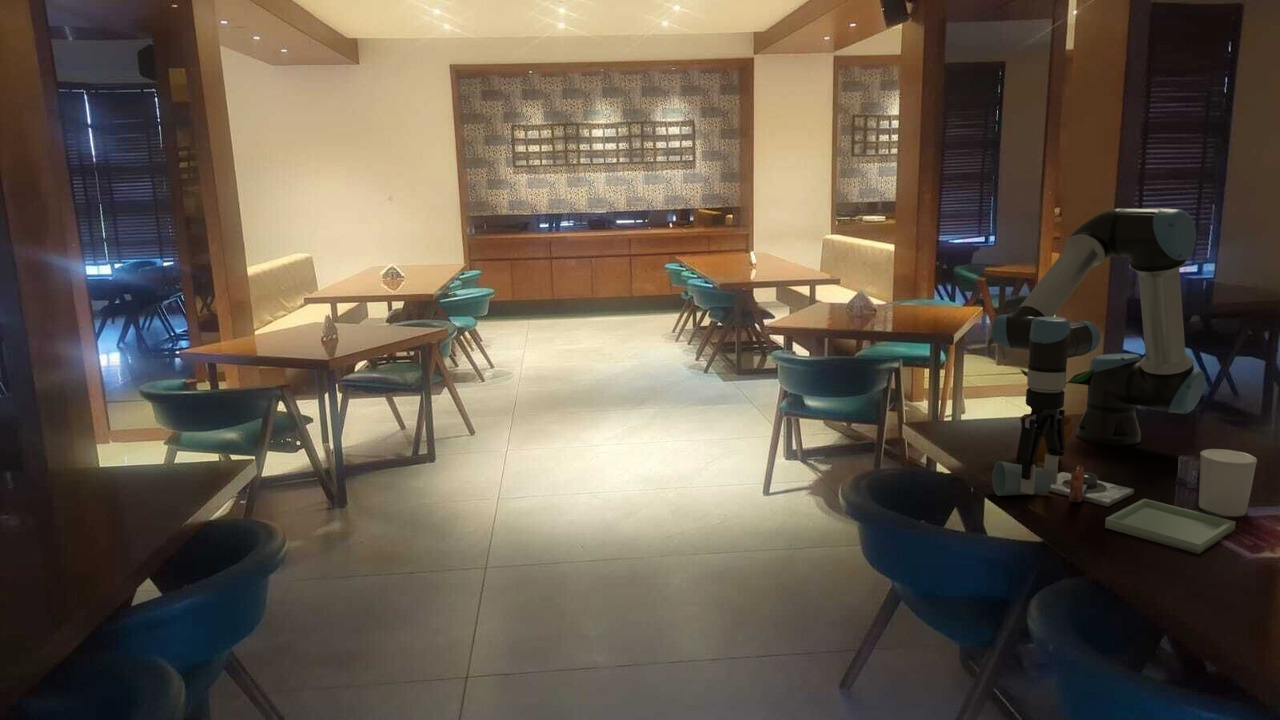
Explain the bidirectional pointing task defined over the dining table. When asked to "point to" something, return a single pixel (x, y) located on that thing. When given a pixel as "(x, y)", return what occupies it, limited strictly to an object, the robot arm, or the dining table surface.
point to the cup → (1017, 479)
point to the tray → (1170, 525)
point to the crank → (1081, 483)
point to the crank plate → (1093, 491)
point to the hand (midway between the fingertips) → (1038, 487)
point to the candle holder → (1225, 481)
